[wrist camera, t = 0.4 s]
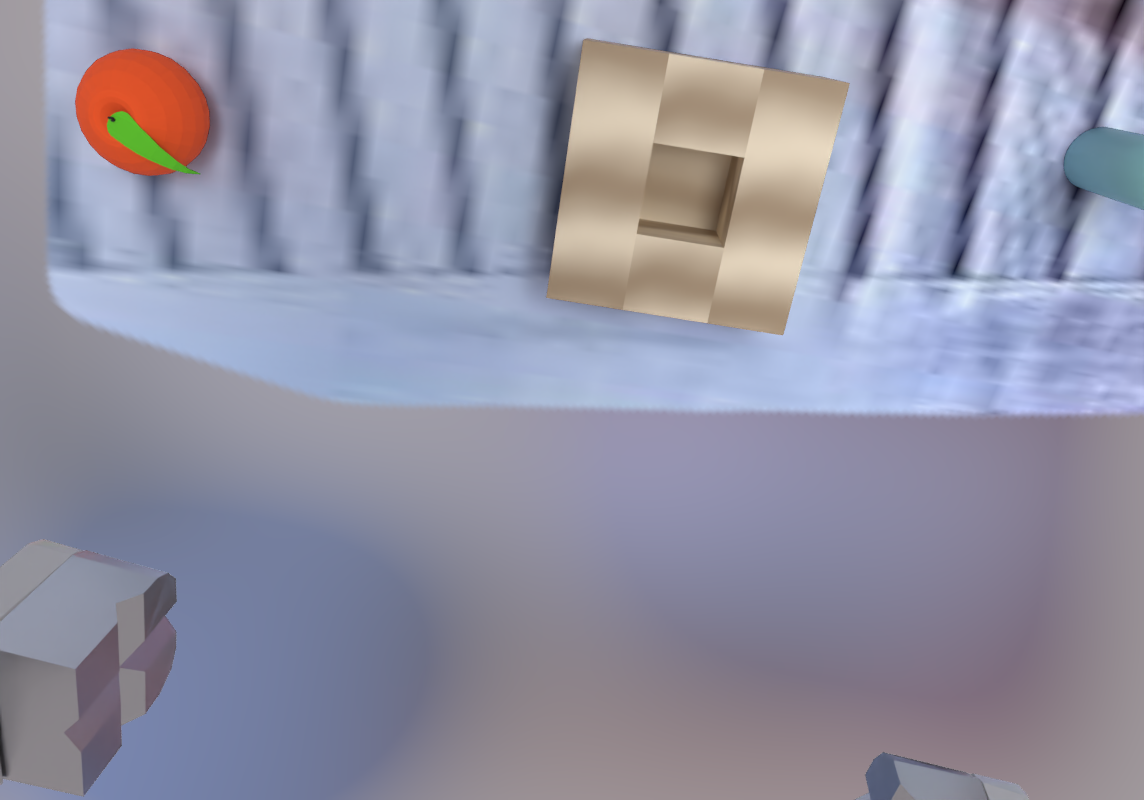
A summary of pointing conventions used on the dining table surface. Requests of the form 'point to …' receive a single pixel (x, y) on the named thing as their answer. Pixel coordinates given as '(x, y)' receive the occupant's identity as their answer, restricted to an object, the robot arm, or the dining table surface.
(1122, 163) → the teal pin
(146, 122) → the clementine
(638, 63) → the maple block
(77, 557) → the robot arm
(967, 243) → the dining table surface
